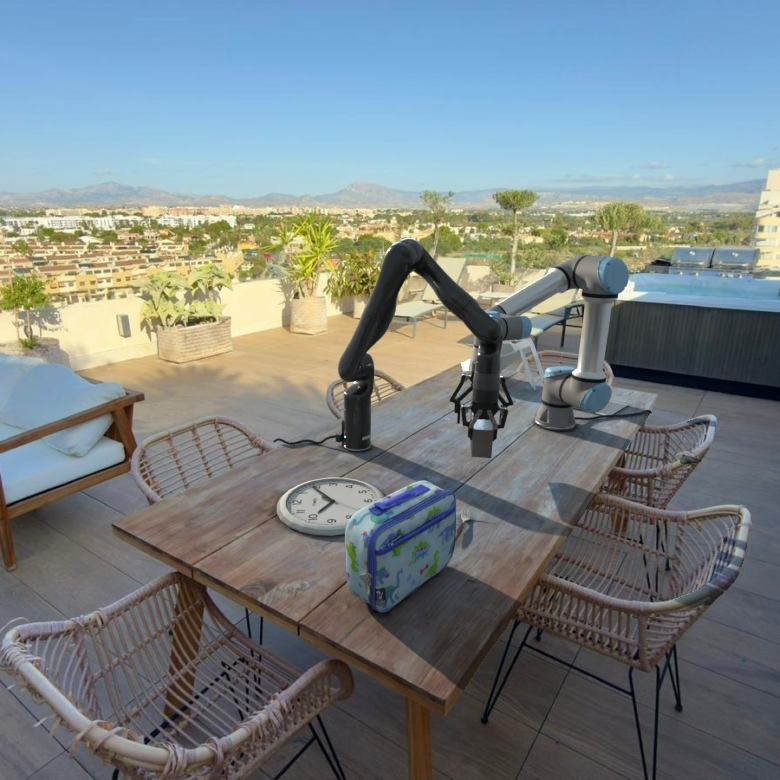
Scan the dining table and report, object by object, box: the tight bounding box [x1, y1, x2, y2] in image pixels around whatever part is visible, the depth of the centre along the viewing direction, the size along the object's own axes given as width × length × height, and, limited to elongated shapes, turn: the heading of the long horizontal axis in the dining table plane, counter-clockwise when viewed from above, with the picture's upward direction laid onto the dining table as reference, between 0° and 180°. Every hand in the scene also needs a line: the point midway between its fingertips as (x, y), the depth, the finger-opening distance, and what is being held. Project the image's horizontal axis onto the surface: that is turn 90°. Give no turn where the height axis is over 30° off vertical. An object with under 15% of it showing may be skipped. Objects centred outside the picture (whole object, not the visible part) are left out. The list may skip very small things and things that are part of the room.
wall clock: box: [276, 476, 386, 537], centre depth 142 cm, size 30×2×30 cm
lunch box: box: [344, 480, 457, 614], centre depth 109 cm, size 26×11×21 cm, turn 135°
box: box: [469, 410, 494, 459], centre depth 163 cm, size 22×6×9 cm, turn 173°
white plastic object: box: [460, 337, 545, 391], centre depth 259 cm, size 37×45×31 cm
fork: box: [455, 504, 474, 543], centre depth 133 cm, size 3×16×2 cm, turn 160°
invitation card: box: [573, 400, 629, 416], centre depth 226 cm, size 21×1×15 cm
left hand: (481, 439), depth 156 cm, fingers closed on box, 5 cm apart
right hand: (479, 423), depth 171 cm, fingers open, 13 cm apart
